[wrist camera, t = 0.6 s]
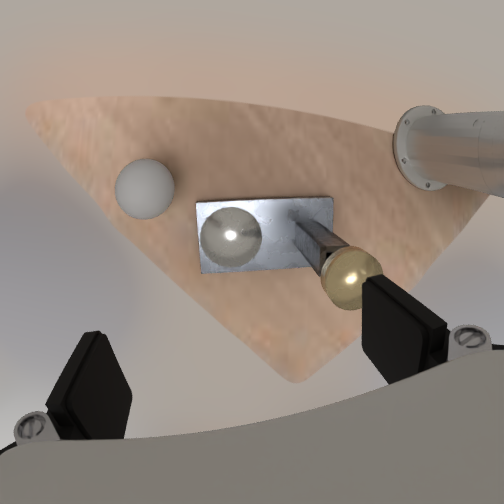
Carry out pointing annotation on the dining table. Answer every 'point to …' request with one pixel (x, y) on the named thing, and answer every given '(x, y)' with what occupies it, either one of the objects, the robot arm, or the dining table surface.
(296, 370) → the dining table surface
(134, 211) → the lightbulb
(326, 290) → the brass knob
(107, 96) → the dining table surface
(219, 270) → the metal press stand
